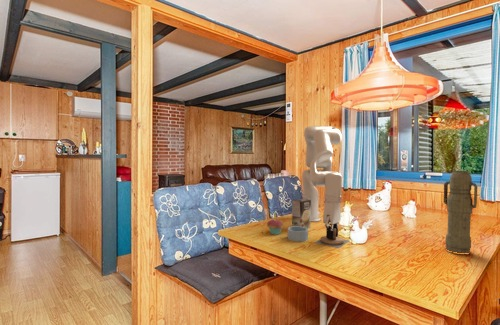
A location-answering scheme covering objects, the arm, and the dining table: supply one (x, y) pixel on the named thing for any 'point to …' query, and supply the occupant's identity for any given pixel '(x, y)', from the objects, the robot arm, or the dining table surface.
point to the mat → (331, 245)
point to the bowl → (297, 233)
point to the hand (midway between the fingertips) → (332, 237)
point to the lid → (332, 241)
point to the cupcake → (275, 226)
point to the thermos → (459, 211)
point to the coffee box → (301, 213)
